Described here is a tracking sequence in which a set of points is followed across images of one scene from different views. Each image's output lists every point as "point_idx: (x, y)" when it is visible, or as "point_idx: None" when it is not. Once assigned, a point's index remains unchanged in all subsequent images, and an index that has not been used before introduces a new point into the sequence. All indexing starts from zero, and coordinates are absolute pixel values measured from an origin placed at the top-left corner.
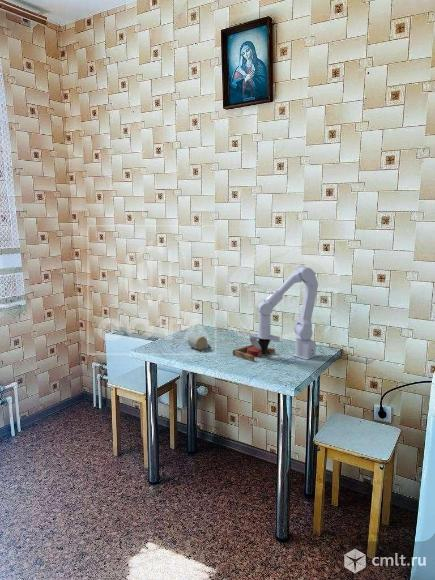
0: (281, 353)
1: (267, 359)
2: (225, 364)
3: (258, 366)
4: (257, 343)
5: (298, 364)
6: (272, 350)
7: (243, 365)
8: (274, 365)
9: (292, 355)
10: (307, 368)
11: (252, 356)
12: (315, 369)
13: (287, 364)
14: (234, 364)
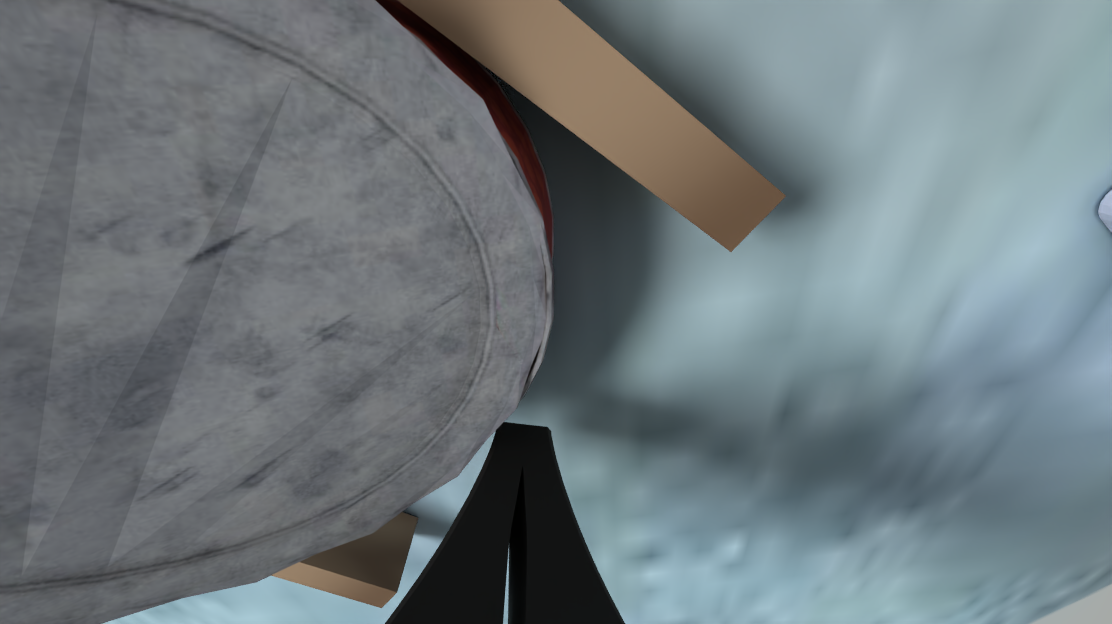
0: (909, 77)
1: (583, 445)
2: (161, 613)
3: (505, 607)
4: (139, 332)
5: (979, 521)
6: (695, 222)
7: (348, 608)
8: (674, 573)
9: (1109, 229)
10: (1022, 584)
11: (374, 602)
12: (1096, 591)
13: (835, 537)
14: (247, 603)
